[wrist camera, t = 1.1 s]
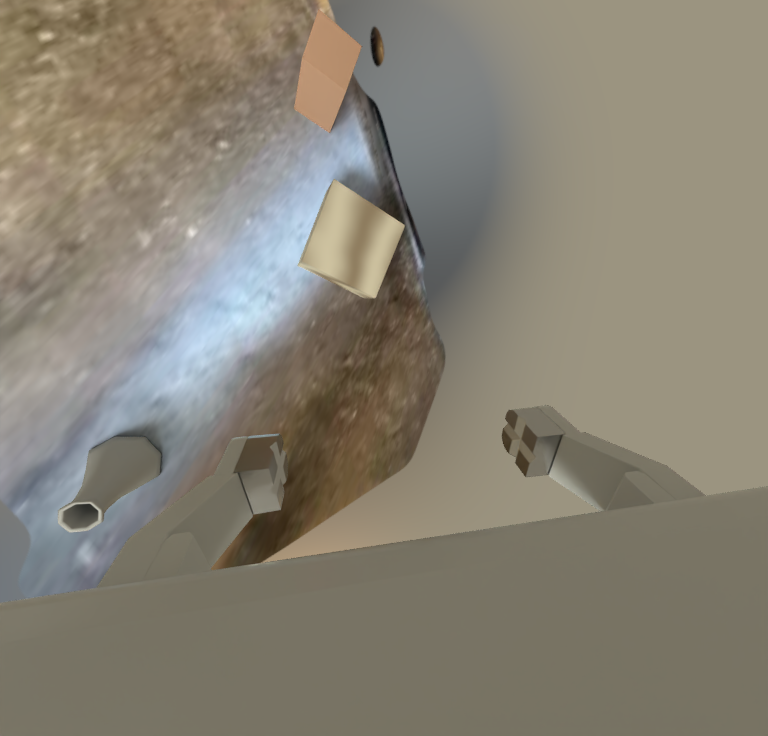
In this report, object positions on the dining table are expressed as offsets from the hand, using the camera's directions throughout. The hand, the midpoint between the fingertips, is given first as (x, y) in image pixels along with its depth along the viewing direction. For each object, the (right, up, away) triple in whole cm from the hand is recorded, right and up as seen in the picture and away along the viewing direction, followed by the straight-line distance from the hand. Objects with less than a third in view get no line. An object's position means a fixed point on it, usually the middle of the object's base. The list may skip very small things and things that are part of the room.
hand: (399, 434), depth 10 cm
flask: (-32, -9, +25) cm, 42 cm away
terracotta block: (-8, +35, +25) cm, 43 cm away
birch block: (-6, +19, +30) cm, 36 cm away
